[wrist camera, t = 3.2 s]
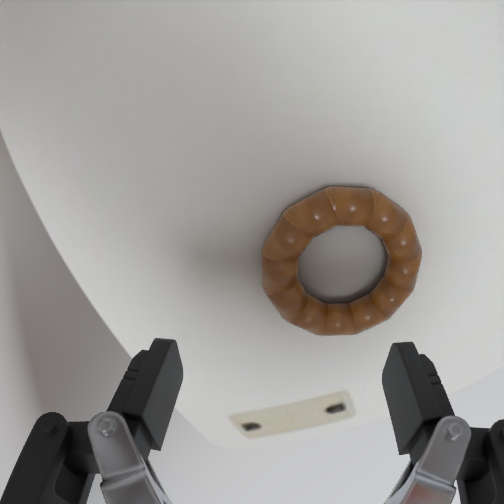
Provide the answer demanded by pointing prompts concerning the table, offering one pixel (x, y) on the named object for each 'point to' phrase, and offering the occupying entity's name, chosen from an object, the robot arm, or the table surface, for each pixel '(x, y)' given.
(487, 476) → the robot arm
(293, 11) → the table surface
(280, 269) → the brown segmented ring
